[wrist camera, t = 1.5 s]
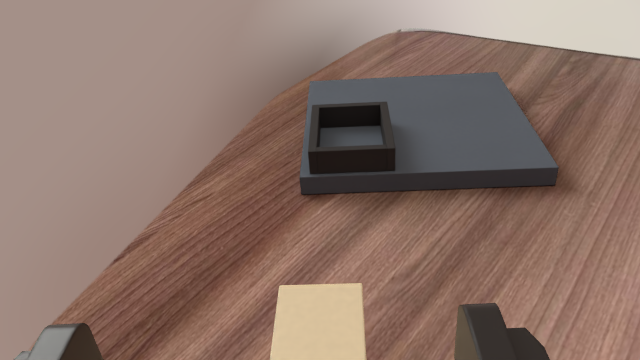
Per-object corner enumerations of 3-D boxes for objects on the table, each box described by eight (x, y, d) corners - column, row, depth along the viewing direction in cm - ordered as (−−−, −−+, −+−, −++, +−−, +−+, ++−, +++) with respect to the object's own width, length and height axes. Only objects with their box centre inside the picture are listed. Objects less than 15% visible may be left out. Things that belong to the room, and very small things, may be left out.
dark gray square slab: (301, 194, 52) (297, 154, 50) (311, 95, 71) (308, 62, 69) (555, 185, 51) (563, 143, 48) (495, 86, 70) (499, 53, 67)
